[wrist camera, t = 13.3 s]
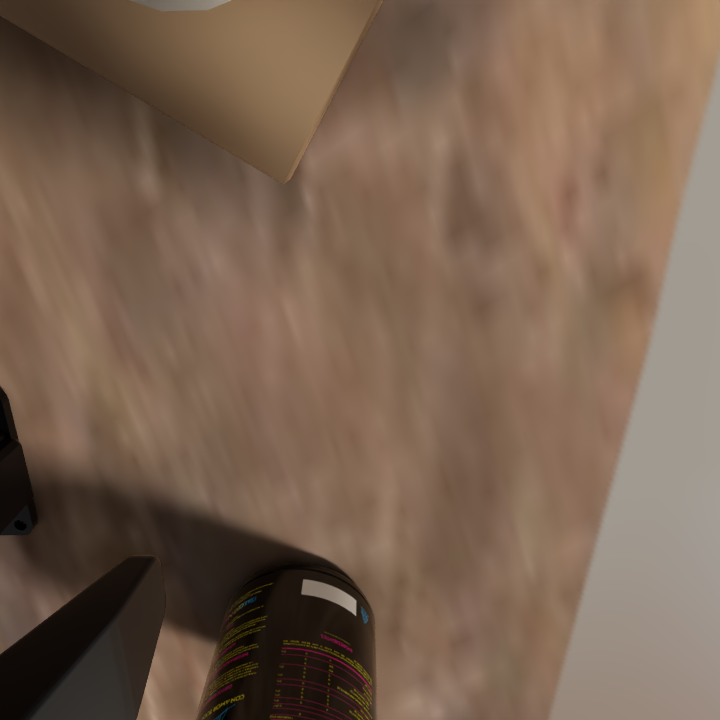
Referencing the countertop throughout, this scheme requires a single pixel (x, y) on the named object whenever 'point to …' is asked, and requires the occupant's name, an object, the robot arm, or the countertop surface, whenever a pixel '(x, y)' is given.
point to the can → (181, 4)
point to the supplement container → (294, 650)
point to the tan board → (216, 63)
